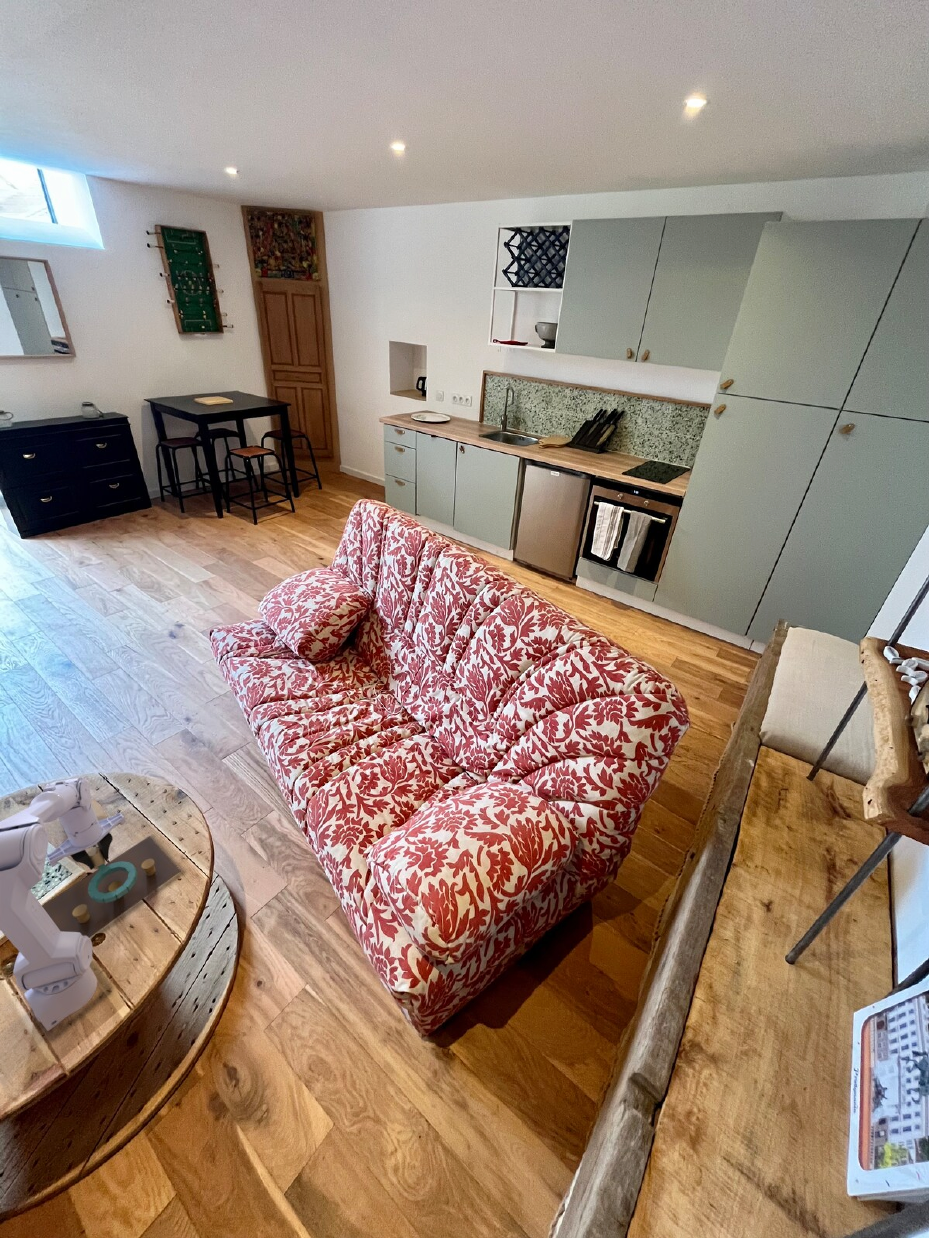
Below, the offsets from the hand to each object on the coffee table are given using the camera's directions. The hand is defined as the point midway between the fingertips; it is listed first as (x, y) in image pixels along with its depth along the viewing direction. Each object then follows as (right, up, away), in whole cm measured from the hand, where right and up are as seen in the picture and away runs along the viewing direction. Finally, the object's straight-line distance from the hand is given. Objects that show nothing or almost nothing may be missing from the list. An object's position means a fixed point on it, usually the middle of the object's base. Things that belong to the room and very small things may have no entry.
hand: (98, 861), depth 115 cm
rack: (+3, -7, +1) cm, 8 cm away
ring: (+4, -3, -2) cm, 5 cm away
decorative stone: (-13, +2, +15) cm, 20 cm away
